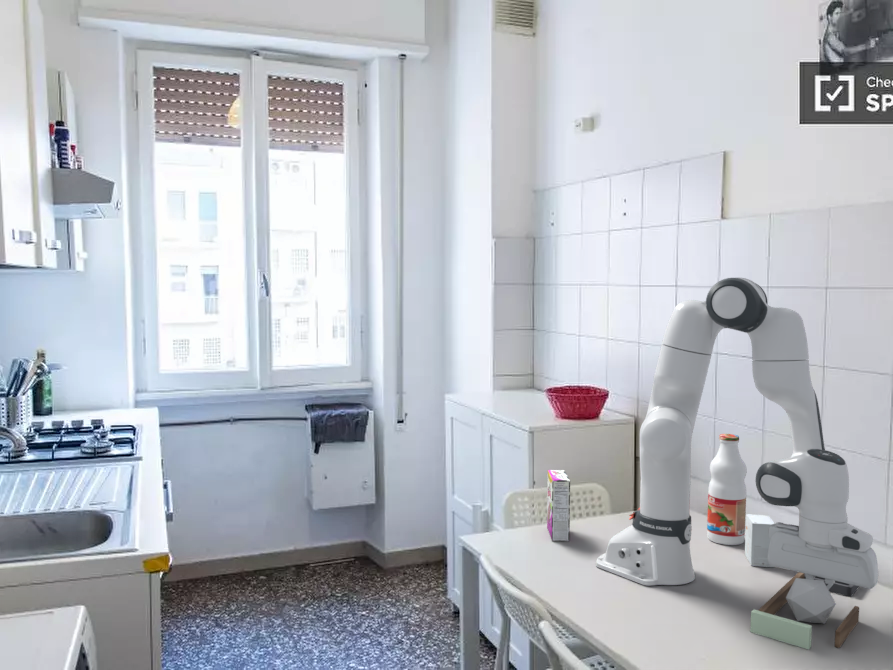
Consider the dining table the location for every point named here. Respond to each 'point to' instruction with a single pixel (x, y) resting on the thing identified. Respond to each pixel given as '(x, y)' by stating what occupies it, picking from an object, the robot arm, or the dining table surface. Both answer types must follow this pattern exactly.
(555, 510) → the candy bar box
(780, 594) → the lane walls
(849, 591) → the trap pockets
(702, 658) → the dining table surface
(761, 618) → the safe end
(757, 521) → the small box
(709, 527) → the fruit juice
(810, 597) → the die
